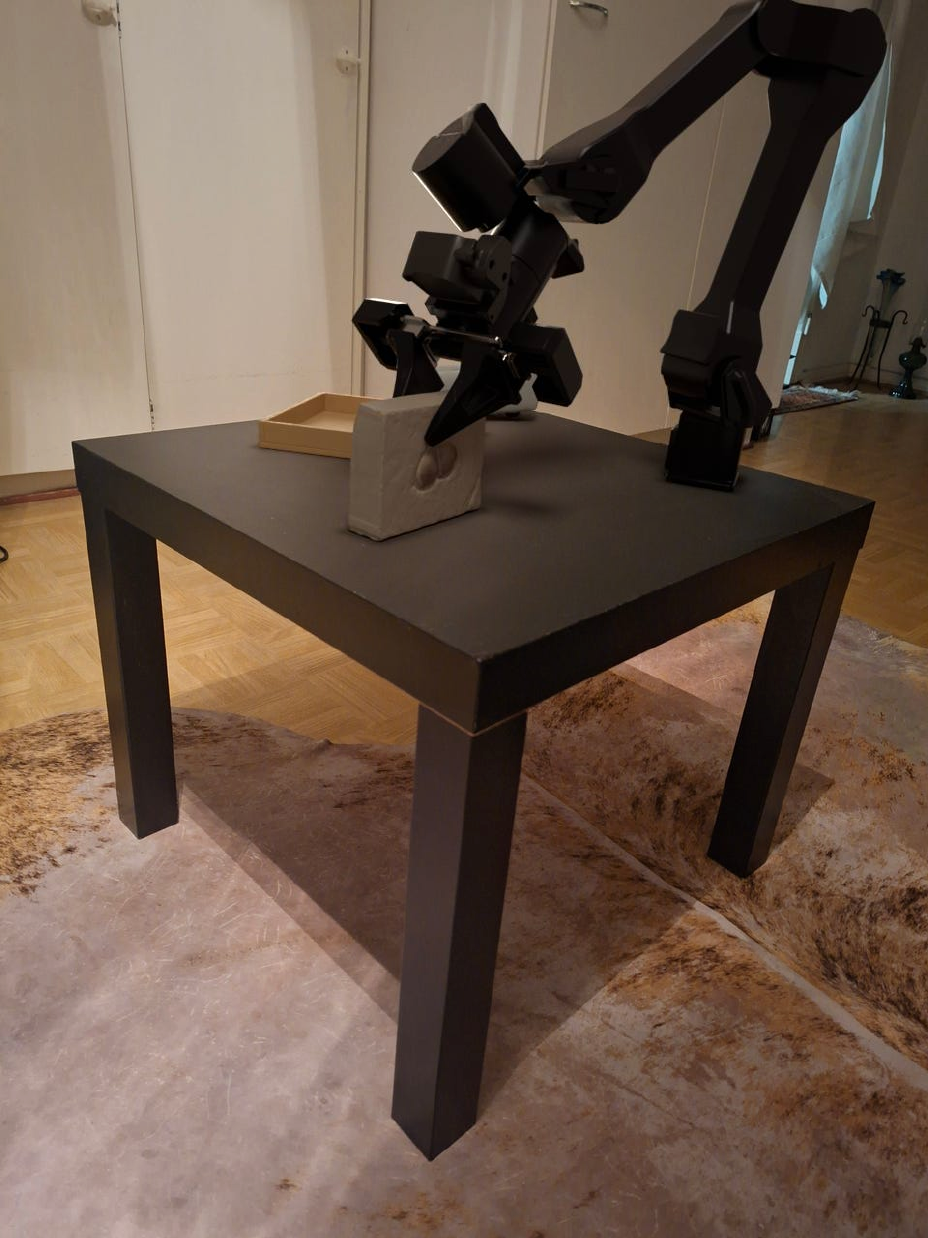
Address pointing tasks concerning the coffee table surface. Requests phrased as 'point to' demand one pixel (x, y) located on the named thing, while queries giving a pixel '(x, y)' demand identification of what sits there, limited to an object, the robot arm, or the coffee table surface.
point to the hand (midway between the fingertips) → (408, 438)
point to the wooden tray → (313, 425)
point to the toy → (511, 411)
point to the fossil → (410, 467)
